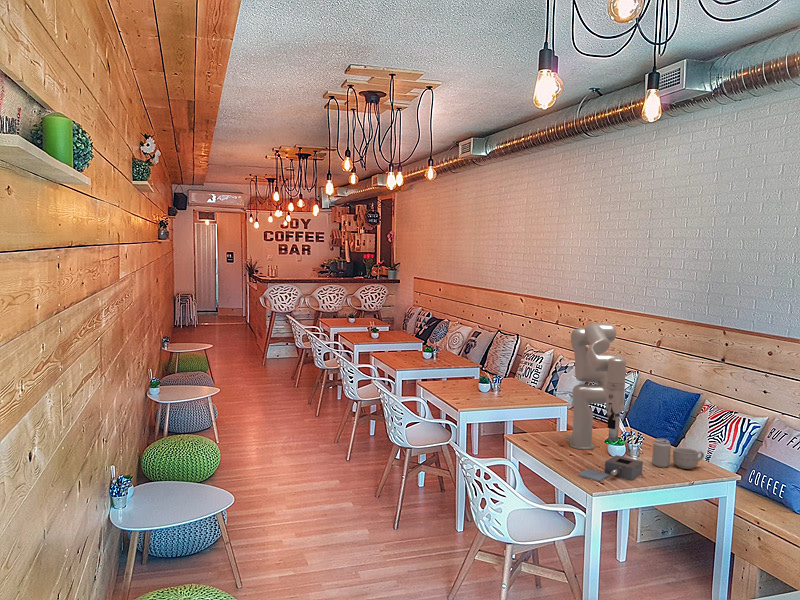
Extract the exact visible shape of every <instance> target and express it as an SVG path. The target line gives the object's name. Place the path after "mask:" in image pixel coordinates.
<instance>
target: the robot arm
mask: <svg viewBox="0 0 800 600" xmlns="http://www.w3.org/2000/svg"><path fill="white" fill-rule="evenodd" d="M570 333H571V334H570V344H571V347H572V350H573V354H574V374H575V375H574V376H575V379H576V380H577V381H578V382H585V383H586V382H587V384H585V383H584V384H583V383H581V384H580V383H579V384H576V385H575V386H574V387H573V388H572V400H573V401H572V402H573V403H572V404H573V410H572V411H573V414H572V415H573V416H572V417H573V418H572V433H571V434H572V435H570V434H565V435H564V436H565V437H564V438H565V440H569V441H568V445H570V446H569V447H571V448H574V449H577V450H585V451H588V450H593V449H595V447H596V446H595V443H593V422H594V421H593V420H594V411H593V410H592V408H591V407H590V406H589V404H590V405H593V404H595V405H602V404H603V405H604V404H605V411H606V415H607V429H609V428H611V429H615V425H616V420H615V415H616V414H618V413H619V424H620V423H621V422H620V421H621V418H620V417H621V412H623V411H625V390H626V389H625V388H626V387H625V385H626V371H627V370H626V369H627V362H626V359H625V358H622V356H621V355H619V354H604V353H605V352H607V351H609V348H610V346H611V344H610V343H613V342H614V341H615V340H616V337H617V330H616V327H614V325H612V324H609V323H590V324H588V325H586V326H585V328H584V327H580V328H579V327H578V328H575V329H573V330H571V332H570ZM588 383H589V384H588ZM590 383H596V384H590ZM611 411H613V412H614V413H613V412H611ZM612 414H613V415H612Z"/></svg>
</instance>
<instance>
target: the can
mask: <svg viewBox="0 0 800 600" xmlns="http://www.w3.org/2000/svg"><path fill="white" fill-rule="evenodd" d="M671 448H672V445H671V443H670V441H669V440H668V439H666V438H655V439H654V441H653V443H652V458H651V459H652V460H651V463H652V464H653V465H654V466H655V465H656V466H655V467H657V466H659V467H658V468H663V467H665V468H668V467H669V466H670V463H671V462H670V461H671Z"/></svg>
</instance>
